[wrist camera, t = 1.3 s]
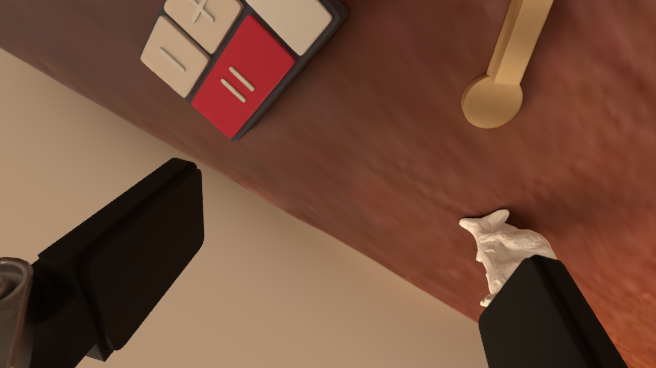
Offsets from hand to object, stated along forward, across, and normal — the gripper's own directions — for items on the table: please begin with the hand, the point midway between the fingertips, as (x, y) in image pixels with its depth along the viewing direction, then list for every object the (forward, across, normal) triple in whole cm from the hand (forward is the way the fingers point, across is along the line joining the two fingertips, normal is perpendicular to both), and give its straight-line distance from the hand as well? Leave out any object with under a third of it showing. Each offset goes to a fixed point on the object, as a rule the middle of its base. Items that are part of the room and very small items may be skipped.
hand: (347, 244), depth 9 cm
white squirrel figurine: (+22, -16, +12) cm, 29 cm away
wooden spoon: (+21, -9, -4) cm, 23 cm away
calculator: (+22, +12, -1) cm, 25 cm away
